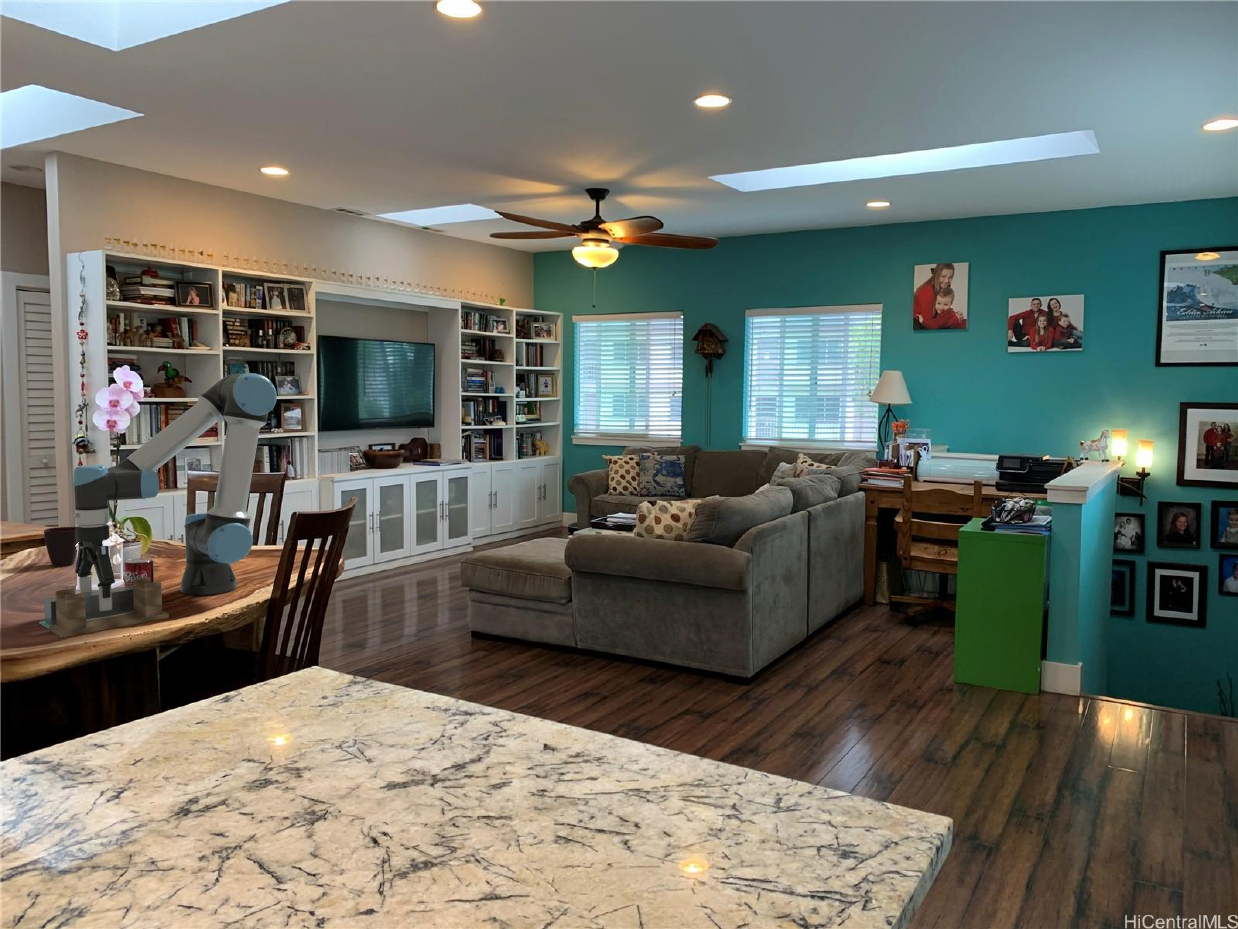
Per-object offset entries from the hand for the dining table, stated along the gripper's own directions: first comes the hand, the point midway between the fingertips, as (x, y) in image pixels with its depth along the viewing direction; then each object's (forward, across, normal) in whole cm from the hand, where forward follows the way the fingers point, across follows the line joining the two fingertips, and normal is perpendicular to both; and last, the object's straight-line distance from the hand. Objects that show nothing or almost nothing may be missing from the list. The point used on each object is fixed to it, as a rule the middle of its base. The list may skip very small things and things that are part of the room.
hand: (95, 605), depth 234 cm
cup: (+3, -81, +18) cm, 83 cm away
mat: (+3, 0, 0) cm, 3 cm away
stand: (+3, +10, 0) cm, 10 cm away
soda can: (+3, -8, +14) cm, 16 cm away
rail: (+3, 0, 0) cm, 3 cm away
